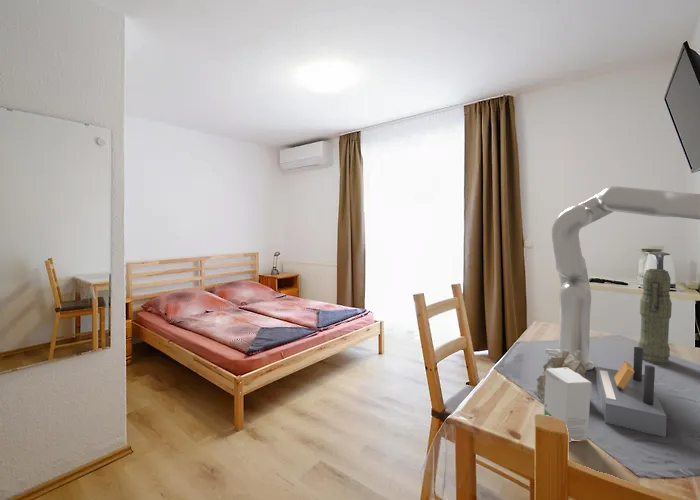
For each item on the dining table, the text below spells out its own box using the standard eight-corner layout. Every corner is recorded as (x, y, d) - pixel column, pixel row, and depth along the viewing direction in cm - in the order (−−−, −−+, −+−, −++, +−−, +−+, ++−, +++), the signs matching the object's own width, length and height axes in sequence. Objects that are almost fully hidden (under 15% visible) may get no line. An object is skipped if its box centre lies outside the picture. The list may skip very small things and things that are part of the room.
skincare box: (542, 423, 89) (543, 367, 88) (565, 421, 89) (566, 366, 88) (565, 444, 81) (566, 382, 79) (590, 441, 81) (592, 380, 80)
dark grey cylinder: (633, 380, 100) (634, 348, 99) (632, 377, 102) (633, 346, 101) (642, 382, 99) (643, 349, 98) (641, 379, 100) (642, 347, 100)
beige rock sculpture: (566, 379, 113) (565, 337, 112) (599, 407, 97) (599, 358, 95) (520, 381, 114) (518, 340, 113) (545, 409, 98) (543, 362, 96)
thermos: (667, 357, 129) (671, 268, 126) (670, 367, 120) (675, 272, 117) (637, 352, 135) (640, 267, 132) (638, 361, 126) (641, 270, 123)
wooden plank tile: (615, 388, 95) (627, 369, 93) (612, 379, 100) (624, 360, 98) (622, 391, 94) (634, 372, 92) (618, 382, 99) (630, 363, 97)
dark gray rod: (644, 403, 87) (645, 367, 87) (642, 400, 89) (643, 364, 88) (654, 405, 86) (655, 368, 85) (652, 402, 88) (654, 365, 87)
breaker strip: (605, 422, 89) (605, 402, 88) (596, 382, 110) (596, 366, 110) (665, 437, 82) (666, 415, 82) (643, 391, 104) (644, 374, 103)
